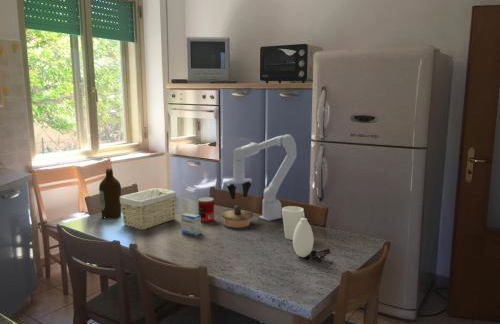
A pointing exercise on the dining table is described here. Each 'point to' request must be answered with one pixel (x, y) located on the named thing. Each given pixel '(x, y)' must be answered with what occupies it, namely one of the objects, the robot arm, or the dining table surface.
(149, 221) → the storage basket
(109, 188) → the olive oil
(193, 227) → the medicine box
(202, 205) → the canned food
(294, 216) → the foam cup
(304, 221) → the sauce bottle
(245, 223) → the bowl
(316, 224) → the dining table surface
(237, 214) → the lid
